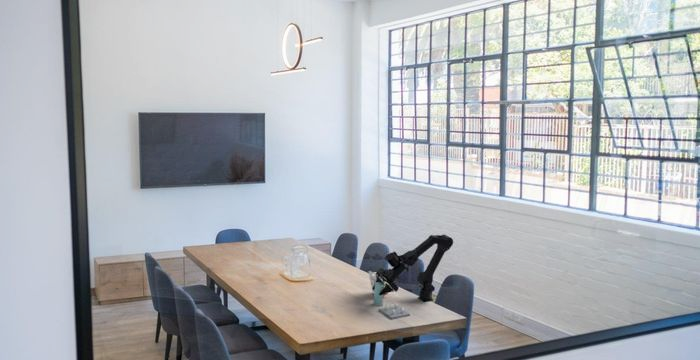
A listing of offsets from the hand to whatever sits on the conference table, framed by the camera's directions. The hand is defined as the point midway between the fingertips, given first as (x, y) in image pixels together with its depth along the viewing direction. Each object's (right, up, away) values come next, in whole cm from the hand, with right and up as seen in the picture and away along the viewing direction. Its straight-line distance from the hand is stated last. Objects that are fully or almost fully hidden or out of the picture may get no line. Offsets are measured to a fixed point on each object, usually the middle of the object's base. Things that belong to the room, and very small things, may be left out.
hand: (376, 292), depth 340 cm
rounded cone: (+1, -7, +3) cm, 8 cm away
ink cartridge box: (+3, -4, +16) cm, 17 cm away
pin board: (+10, -10, -7) cm, 16 cm away
